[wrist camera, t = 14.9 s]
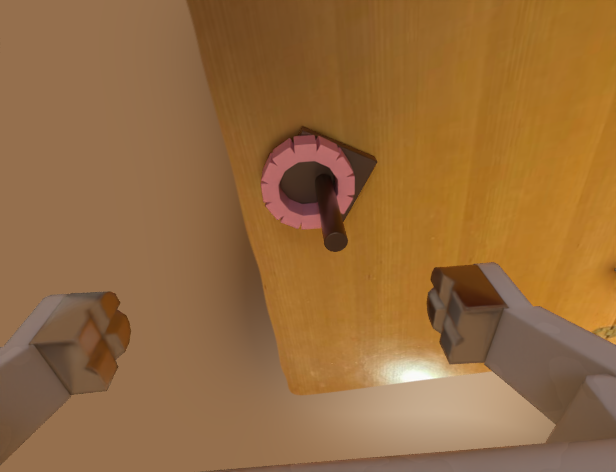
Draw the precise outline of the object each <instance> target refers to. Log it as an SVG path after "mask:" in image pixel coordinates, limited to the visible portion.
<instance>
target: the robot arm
mask: <svg viewBox="0 0 616 472" xmlns="http://www.w3.org/2000/svg"><path fill="white" fill-rule="evenodd" d="M431 282H432V284H433V286H434V287H433V288H432V289H431V290H430V291H429V292H428V297H427V312H428V316H429V320H430V322H431V325H432V327H433V329H435V330H436V331H438V332H439V333H441V337H440V345H441V347H442V349H443V351H444V353H445V355H446V358H447V360H448V362H449V364H465V363H484V362H485V363H484V364H485V365H486V366H487V367H488V368H489V369H491V370H492V371H493V372H494V373H495V374H497V375H498V376H499V377H500V378H501V379H503V380H504V381H505V382H506V383H507V384H508V385H510V386H511V387H512V388H513V389H515V391H517V392H518V393H519V394H520V395H522V396H523V397H524V398H525V399H526V400H527V401H529V402H530V403H531V404H532V405H533V406H534V407H536V408H537V409H538V410H539V411H540V412H542V413H543V414H544V415H545V416H546V417H548V418H549V419H550V420H551V421H552V422H553V423H555V424H556V426H555V428H554V429H553V431H552V432H551V434H550V436H549V437H548V439H547V441H546V443H544V444H532V445H519V446H507V447H495V448H483V449H471V450H459V451H446V452H435V453H422V454H411V455H410V454H409V455H397V456H385V457H373V458H360V459H348V460H336V461H324V462H311V463H300V464H288V465H275V466H263V467H251V468H238V469H227V470H214V471H202V472H616V345H615V344H613V343H611V342H609V341H607V340H605V339H603V338H601V337H599V336H597V335H595V334H593V333H591V332H589V331H587V330H585V329H583V328H581V327H579V326H577V325H575V324H573V323H571V322H569V321H567V320H566V319H564V318H562V317H560V316H558V315H556V314H554V313H552V312H550V311H548V310H546V309H544V308H542V307H540V306H536V307H533V306H532V305H531V303H530V302H529V301H528V300H527V299H526V297H525V296H524V295H523V294H522V293H521V291H520V290H519V289H518V288H517V287H516V285H515V284H514V283H513V282H512V280H511V279H510V278H509V277H508V276H507V274H506V273H505V272H504V271H503V270H502V268H501V267H500V266H499V265H498V264H496V263H494V262H490V263H480V264H473V265H461V266H449V267H436V268H434V270H433V271H432V275H431ZM119 305H120V301H119V300H118V298H117V296H116V294H115V293H113V292H91V293H71V294H59V295H50V296H47V297H45V298H44V299H43V300H42V301H41V302H40V303H39V304H38V306H37V307H36V308H35V309H34V310H33V312H32V313H31V314H30V315H29V316H28V318H27V319H26V320H25V321H24V323H23V324H22V325H21V326H20V327H19V328H18V330H17V331H16V332H15V333H14V335H13V336H12V337H11V338H10V339H9V340H8V342H7V343H6V344H5V345H4V347H0V465H1V464H2V463H3V462H4V461H5V460H6V459H7V458H8V457H9V456H10V455H11V454H12V453H13V452H14V451H16V450H17V448H19V447H20V446H21V445H22V444H23V443H24V442H25V441H26V440H27V439H28V438H29V437H30V436H31V435H32V434H33V433H34V432H35V431H36V430H37V429H38V428H39V427H40V426H41V425H42V424H43V423H45V421H47V419H49V418H50V417H51V416H52V415H53V414H54V413H55V412H56V411H57V410H58V409H59V408H60V407H61V406H62V405H63V404H64V403H65V402H66V401H67V400H68V399H69V398H70V397H71V395H74V394H83V393H93V392H102V391H107V390H108V388H109V386H110V383H111V381H112V379H113V377H114V375H115V373H116V371H117V368H118V365H117V362H116V359H117V358H118V357H119V356H121V355H122V354H123V353H124V352H125V351H126V349H127V346H128V344H129V341H130V334H131V329H130V323H129V321H128V318H127V316H126V315H125V314H123V313H122V312H120V311H119V310H117V309H118V307H119Z"/></svg>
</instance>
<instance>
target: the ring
mask: <svg viewBox="0 0 616 472" xmlns="http://www.w3.org/2000/svg"><path fill="white" fill-rule="evenodd" d="M309 161H316V162H318V163H320V164H322V165H325V166H327V167H329V168H330V169H331V171H332V172H333V174H334V175H335V185H334V189H335V193H336V197H337V201H338V205H339V208H340V212H341V213H342V214H344V213H345V212H346V210H347V208H348V207H349V205H350V203H351V202H352V200H353V196H352V195H354V194H355V176H354V174H353V170H352V167H351V165H350V162H349V161H348V159H347V157H346V156H345V154H344V153H343V151H342V150H341V148H340V147H339V148H338V147H337V144H335V143H333V142H331V141H329V140H327V139H325V138H323V137H320V136H318V137H317V139H316V140H315V135H306V136H294V143H293V142H292V140H291V139H290V138H289V139H288V140H286V141H285V142H283V143H282V144H280V145H279V146H277V147H276V148H275V149H273V153H270V155H269V157H268V159H267V161H266V164H265V166H264V168H263V172H262V179H261V189H262V195H263V202H264V203H265V202H266V205H265V206H266V207H267V209H268V210H269V211H270V212H271V213H272V214H273V216H274V217H275V218H276V219H277V220H278V219H280V218H281V223H284V224H287V225H289V226H292V227H294V228H297V229H298V228H299V226H300V225H301V227H302V229H314V228H321V220H320V213H319V207H318V202H317V203H308V204H300V203H298V202H295V201H293V200H291V199H289V198H288V197H287V196H286V194H285V193H284V192H283V191H282V189H281V188H280V180H281V178H282V176H283V174H284V172H285V171H286V170H287V169H289V168H290V167H292V166H293V165H295V164H296V163H298V162H309Z"/></svg>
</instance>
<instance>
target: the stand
mask: <svg viewBox="0 0 616 472" xmlns="http://www.w3.org/2000/svg"><path fill="white" fill-rule="evenodd" d="M306 135H315V140H316V139H317V137H318V136H320V137H323V138H325V139H327V140H329V141H331V142H333V143H335V144H337V147H338V148H339V147H340V148H341V150H342V151H343V153H344V154H345V156H346V157H347V159H348V161H349V162H350V165H351V167H352V170H353V174H354V176H355V194H354V195H352V196H353V200H352V202H351V203H350V205H349V207H348V208H347V210H346V212H345V213H344V214H342V213H341V212H340V208H339V205H338V201H337V197H336V193H335V189H334V185H335V175H334V174H333V172H332V171H331V169H330V168H329V167H327V166H325V165H322V164H320V163H318V162H316V161H309V162H298V163H296V164H295V165H293V166H292V167H290V168H289V169H287V170H286V171H285V172H284V174H283V176H282V178H281V180H280V188H281V189H282V191H283V192H284V193H285V194H286V196H287V197H288V198H289V199H291V200H293V201H295V202H298V203H300V204H308V203H317V202H318V207H319V213H320V220H321V226H322V232H323V239H324V245H325V247H326V248H327V249H328V250H330V251H333V252H337V251H341V250H343V249H344V248H345V247H346V246H347V243H348V239H347V235H346V231H345V228H344V224H343V222H344V220H345V218H346V216H347V215H348V213H349V211H350V209H351V208H352V206H353V204H354V202H355V201H356V199H357V197H358V195H359V193H360V192H361V190H362V188H363V186H364V185H365V183H366V181H367V179H368V178H369V176H370V174H371V172H372V170H373V169H374V167H375V165H376V163H377V160H376V158H375V157H374V156H371V155H369V154H367V153H364V152H362V151H360V150H357V149H355V148H352V147H350V146H348V145H345V144H343V143H341V142H338V141H336V140H334V139H331V138H329V137H327V136H324V135H322V134H320V133H317V132H315V131H312V130H310V129H308V128H305V127H303V126H302V127H301V130H300V132H299V134H298V136H306Z"/></svg>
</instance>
